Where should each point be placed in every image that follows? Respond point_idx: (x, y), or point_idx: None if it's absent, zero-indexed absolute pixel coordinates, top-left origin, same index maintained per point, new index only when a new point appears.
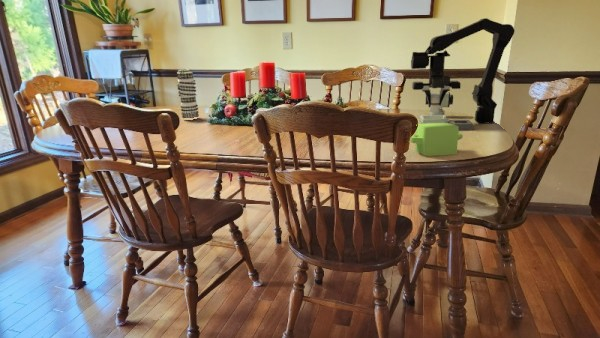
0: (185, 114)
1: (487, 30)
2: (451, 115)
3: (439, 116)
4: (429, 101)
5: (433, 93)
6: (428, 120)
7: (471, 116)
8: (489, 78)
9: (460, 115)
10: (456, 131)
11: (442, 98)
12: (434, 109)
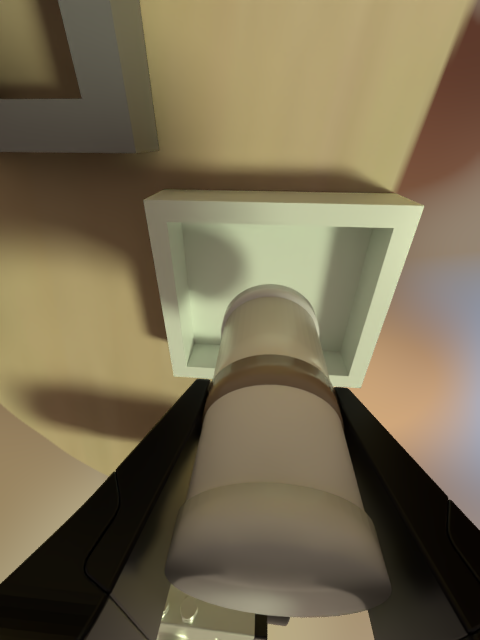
0: None
1: None
2: None
3: (213, 361)
4: (378, 440)
5: (228, 637)
6: (353, 202)
7: (41, 422)
8: None
9: (97, 445)
10: None
11: (133, 467)
12: (283, 319)
